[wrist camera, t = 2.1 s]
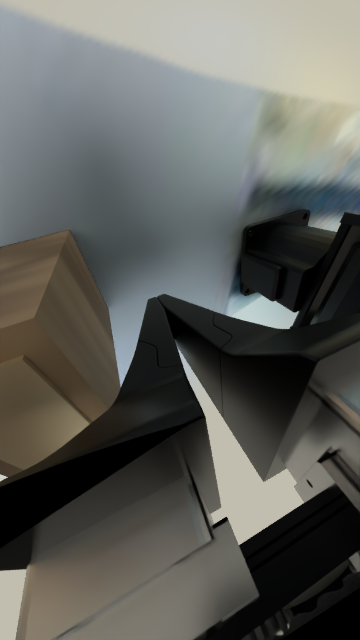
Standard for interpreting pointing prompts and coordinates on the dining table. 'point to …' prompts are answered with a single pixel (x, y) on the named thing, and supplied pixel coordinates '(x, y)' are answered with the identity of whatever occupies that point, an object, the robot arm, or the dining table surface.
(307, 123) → the dining table surface
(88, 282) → the walnut block
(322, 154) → the dining table surface
